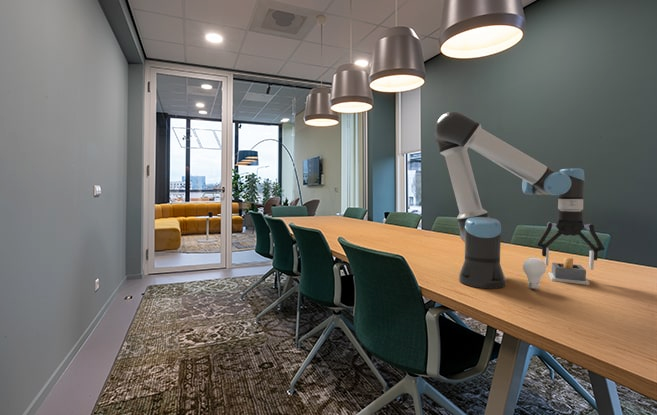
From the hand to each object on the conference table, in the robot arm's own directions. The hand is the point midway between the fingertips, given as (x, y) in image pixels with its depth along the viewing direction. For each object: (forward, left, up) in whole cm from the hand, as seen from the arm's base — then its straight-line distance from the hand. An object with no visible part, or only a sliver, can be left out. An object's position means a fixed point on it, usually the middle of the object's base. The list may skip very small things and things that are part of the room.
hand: (568, 266), depth 122 cm
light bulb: (-12, -20, -5) cm, 25 cm away
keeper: (0, 0, -5) cm, 5 cm away
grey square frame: (0, 0, -4) cm, 4 cm away
